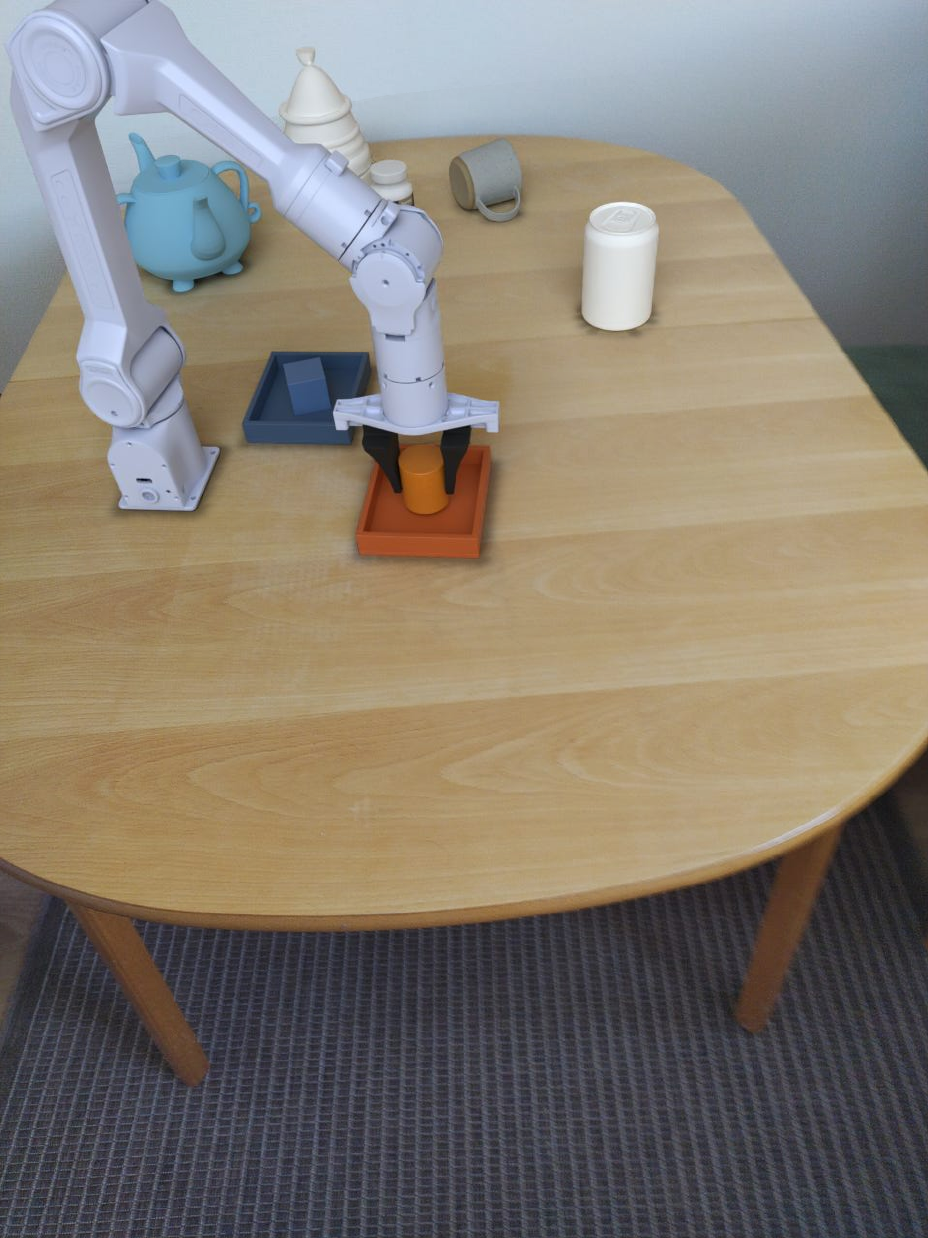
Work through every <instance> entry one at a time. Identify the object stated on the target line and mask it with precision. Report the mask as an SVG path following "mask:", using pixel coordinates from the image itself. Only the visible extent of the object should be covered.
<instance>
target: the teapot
mask: <svg viewBox="0 0 928 1238" xmlns="http://www.w3.org/2000/svg"><path fill="white" fill-rule="evenodd" d="M128 139H129V142H130V143H131V145H132V148H133V150H134V152H135V154H136V159H137V163H138V169H139V173H137V175H136V176H135V178H133V179H134V180H133V181H132V184H131V186H130V190H129V192H121V193H116V197H117V201H118V204H119V206H121V205H124V204H126V205H125V211H124V218H123V221H124V225H125V228H126V232H127V235H128V238H129V242H130V245H131V249H132V252H133V255H134V259H135V262H136V265H137V266H138V267H140V268H142V269H143V270H144V271H146V272H148V273H150V274H151V275H153V276H155V277H157V278H160V279H164V280H169V281H172V290H173V291H174V292H179V293H182V292H187V291H190V290H192V289H194V287H195V280H197V279H202V278H206V277H210V276H213V275H215V274H218V273H220V272H221V273H223V274H225V275H235V274H238V273H240V272H241V271H242V270H243V269H244V266H243V265H242V264H241V262H239V260H240V258H241V257H242V256H243V254H244V252H245V250H246V249H247V247H248V245H249V243H250V241H251V236H252V227H251V225H253V224H256V223H257V222H258V221H259V220H260V219H261V218H262V214H263V213H262V208H261V206H260V205H259V203H258V202H256V201H253V200H251V201H250V198H249V197H250V183H249V182H250V181H249V177H248V174H247V172H246V170H245V168H244V166H243V165H242V164H240V163H239V162H238V163H237V161H236V162H235V161H233V160H220V161H218V162H216V163H215V164H213V165H212V166H211V167H209V166H208V165H207V164H205V163H204V162H201V161H199V160H195V159H181V157H180V156H179V155H174V154H165V155H162V156H160V157H158V158H155V156H154V155H153V153H152V152H151V150H150V148H149V145H148V144H147V143H146V141H145V139H144V138H143V137H142V136H141V135H140V134H139V133H137V132H134V131H133V132H129V133H128ZM228 171H235V172H236V173H237V176H238V180H239V198H238V196H237V195H236V194H235V192H234V191H233V190H232V188H230V186H229V185H228V184H227V183H226V182H225V181H224V180H223V179H222V177H220V176H219V175H220V174H222V173H224V172H228ZM252 209H253V210H254V211H253V212H252V213H251V214H250V213H249V210H252Z"/></svg>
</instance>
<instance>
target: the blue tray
mask: <svg viewBox="0 0 928 1238" xmlns="http://www.w3.org/2000/svg"><path fill="white" fill-rule="evenodd" d="M318 357H320V360H321V363H322V367H323V371H324V375H325V379H326V384H327V389H328V394H329V398H330V403H331V409H328V410H323V411H317V412H312V413H307V414H302V415H297V416H295V414H294V410H293V406H292V401H291V397H290V393H289V389H288V385H287V380H286V375H285V371H284V366H283V364H287V363H292V362H297V361H302V360H308V359H313V358H318ZM371 376H372V364H371V357H370V352H369V351H286V350H285V351H284V350H283V351H277V350H276V351H275V350H274V351H273V350H272V351H270V354H269V357H268V359H267V362H266V364H265V367H264V369H263V371H262V374H261V377H260V379H259V382H258V384H257V386H256V389H255V391H254V394H253V395H252V398H251V400H250V403H249V405H248V408H247V410H246V413H245V415H244V418H243V420H242V422H241V426H242V430H243V433H244V437H245V440H246V443H247V444H292V445H294V444H296V445H297V444H298V445H345V446H346V445H350V446H351V445H352V441H353V438H354V434H355V430H356V427H357V426H349V428H348V429H347V430H336V426H335V421H334V416H333V411H334V408H335V404H336V401H337V400H338V399H353V398H359V397H364V396H366V392H367V389H368V385H369V382H370V378H371Z"/></svg>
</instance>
